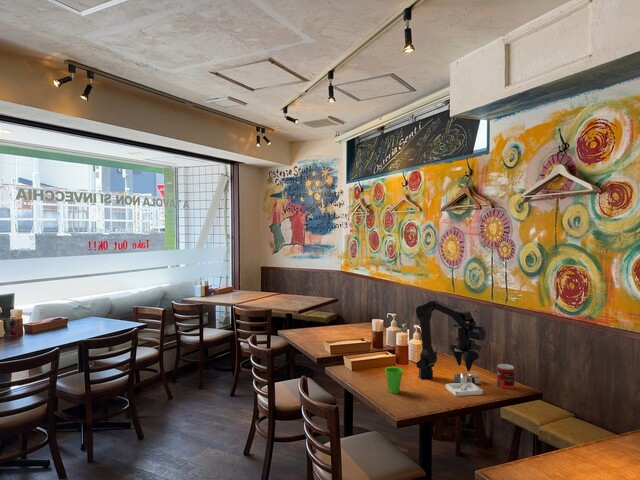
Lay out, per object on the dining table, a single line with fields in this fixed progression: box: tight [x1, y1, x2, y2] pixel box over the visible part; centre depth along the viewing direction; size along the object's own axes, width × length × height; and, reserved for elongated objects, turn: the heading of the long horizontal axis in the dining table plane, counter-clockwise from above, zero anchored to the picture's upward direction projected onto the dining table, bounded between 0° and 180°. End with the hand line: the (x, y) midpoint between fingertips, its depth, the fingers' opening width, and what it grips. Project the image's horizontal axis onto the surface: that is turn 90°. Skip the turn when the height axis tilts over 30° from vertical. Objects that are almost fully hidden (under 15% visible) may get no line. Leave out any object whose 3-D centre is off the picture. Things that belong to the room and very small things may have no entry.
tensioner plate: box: [452, 371, 485, 386], centre depth 214 cm, size 13×9×5 cm
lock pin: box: [459, 372, 468, 391], centre depth 202 cm, size 3×3×9 cm
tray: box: [445, 382, 484, 397], centre depth 202 cm, size 14×11×2 cm
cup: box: [384, 366, 404, 395], centre depth 203 cm, size 9×9×11 cm
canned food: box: [496, 363, 515, 391], centre depth 208 cm, size 8×8×11 cm
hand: (464, 368), depth 202 cm, fingers open, 9 cm apart
